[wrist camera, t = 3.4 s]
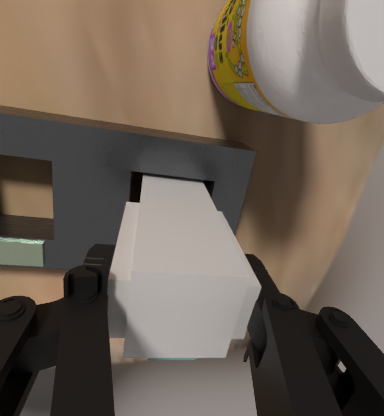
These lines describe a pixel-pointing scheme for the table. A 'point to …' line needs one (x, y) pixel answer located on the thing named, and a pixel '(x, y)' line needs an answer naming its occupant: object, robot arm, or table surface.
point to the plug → (182, 275)
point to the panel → (105, 180)
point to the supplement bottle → (300, 57)
